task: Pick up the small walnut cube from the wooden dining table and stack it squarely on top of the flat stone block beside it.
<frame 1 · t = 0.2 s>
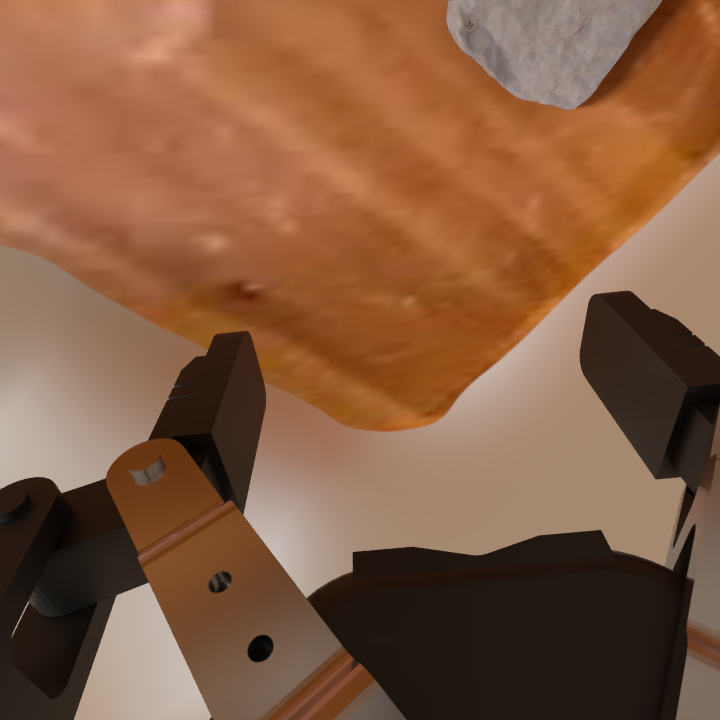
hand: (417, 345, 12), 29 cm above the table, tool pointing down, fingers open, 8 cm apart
stone block: (536, 8, 32), on the table
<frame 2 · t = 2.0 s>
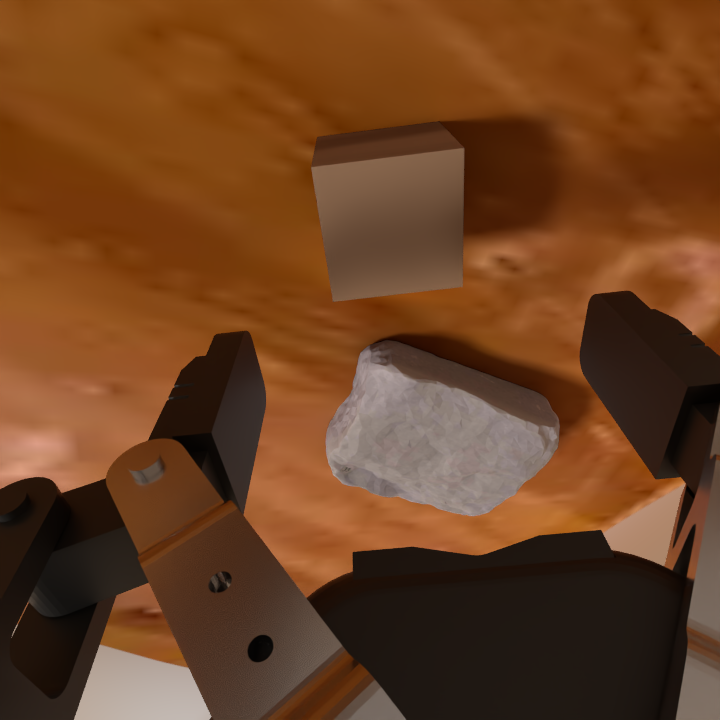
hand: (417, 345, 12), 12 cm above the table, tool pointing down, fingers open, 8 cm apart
stone block: (426, 419, 30), on the table
walnut cube: (382, 190, 21), on the table
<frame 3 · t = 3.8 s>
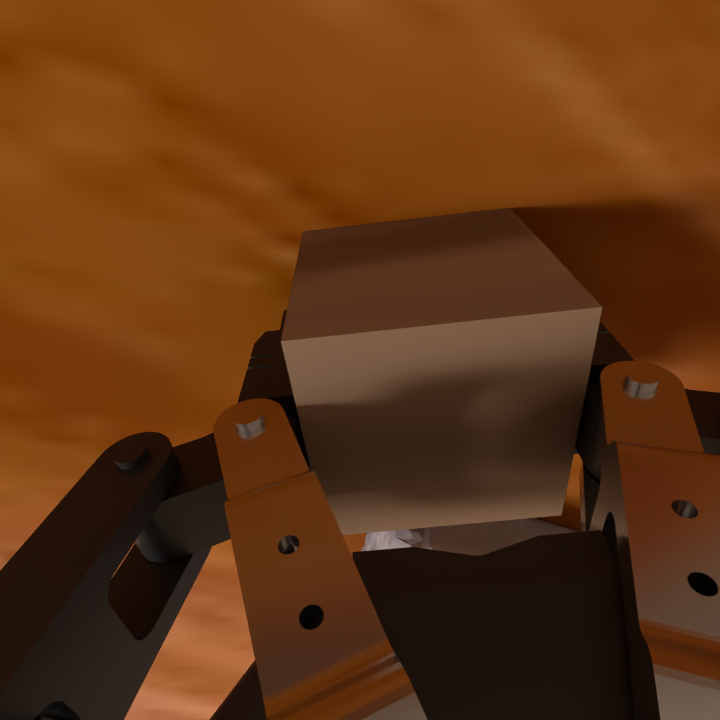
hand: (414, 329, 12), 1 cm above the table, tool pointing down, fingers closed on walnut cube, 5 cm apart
stone block: (467, 573, 21), on the table
walnut cube: (410, 310, 13), on the table, touching gripper
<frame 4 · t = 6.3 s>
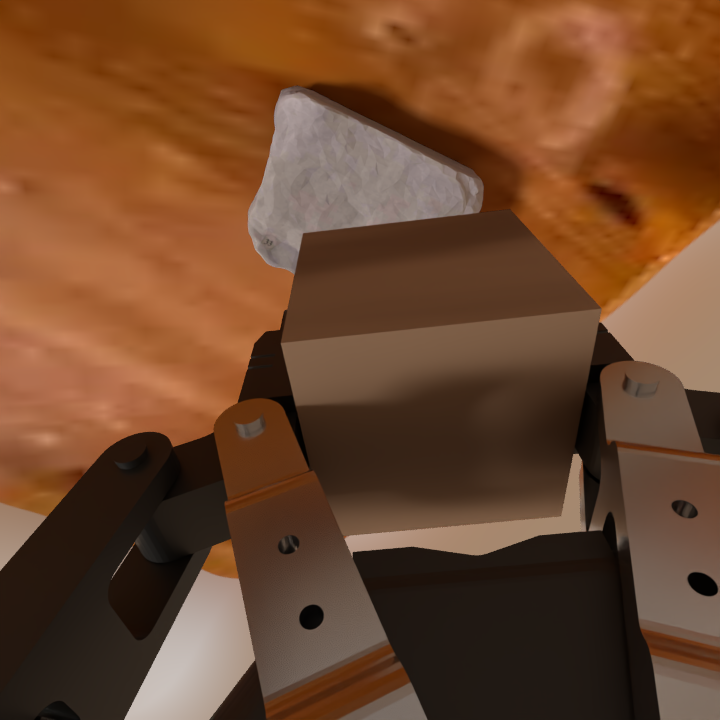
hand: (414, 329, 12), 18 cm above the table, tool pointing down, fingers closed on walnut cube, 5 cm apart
stone block: (355, 206, 29), on the table
walnut cube: (410, 312, 13), point 17 cm above the table, touching gripper
when the fingers open (6 cm above the table, at t = 8.7 s): walnut cube drops 2 cm, resting on stone block.
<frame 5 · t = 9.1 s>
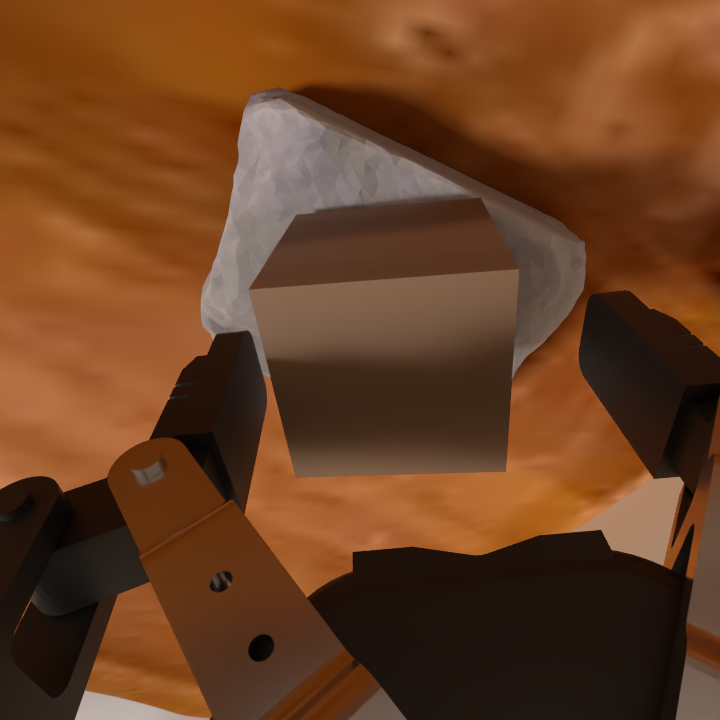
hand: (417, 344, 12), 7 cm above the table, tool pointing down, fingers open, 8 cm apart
stone block: (372, 274, 19), on the table, touching walnut cube
walnut cube: (393, 291, 14), point 4 cm above the table, tilted 6°, touching stone block
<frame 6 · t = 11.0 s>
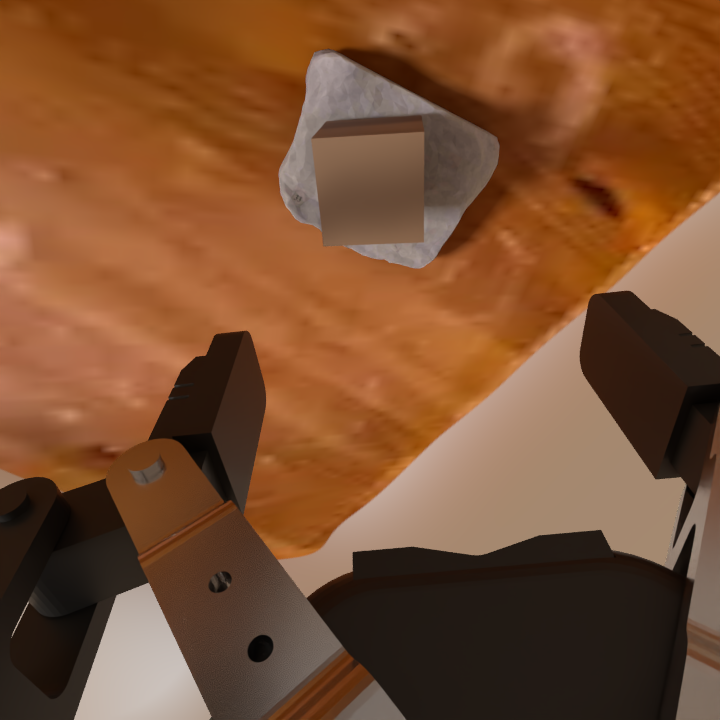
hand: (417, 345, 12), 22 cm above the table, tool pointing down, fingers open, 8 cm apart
stone block: (377, 169, 31), on the table, touching walnut cube
walnut cube: (375, 168, 27), point 4 cm above the table, tilted 6°, touching stone block
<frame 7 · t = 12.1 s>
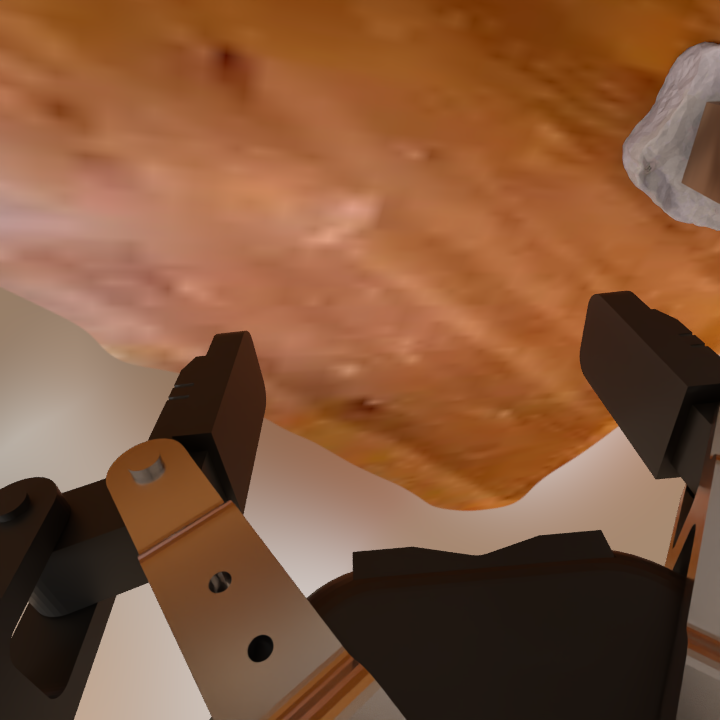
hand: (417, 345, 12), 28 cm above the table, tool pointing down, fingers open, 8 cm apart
stone block: (696, 145, 36), on the table, touching walnut cube
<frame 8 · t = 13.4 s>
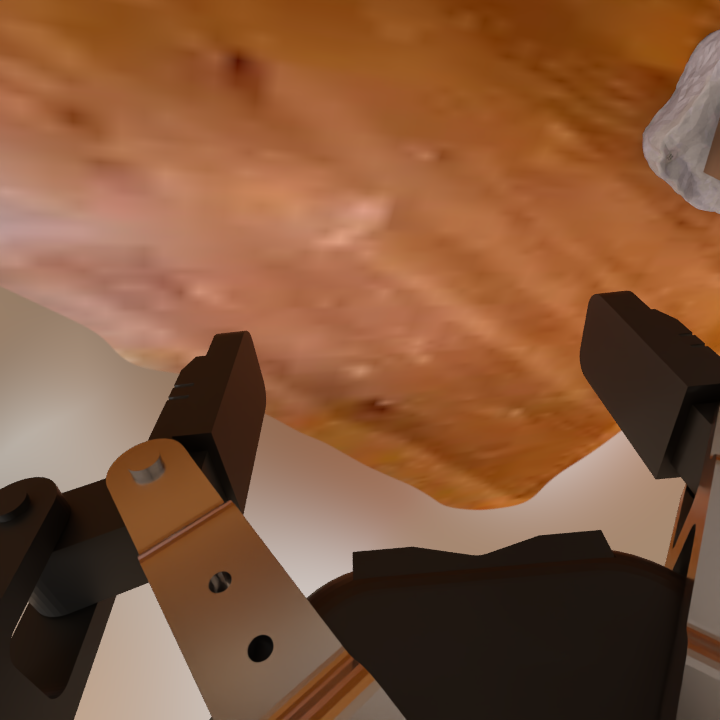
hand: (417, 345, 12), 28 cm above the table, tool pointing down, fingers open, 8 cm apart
stone block: (717, 132, 36), on the table, touching walnut cube
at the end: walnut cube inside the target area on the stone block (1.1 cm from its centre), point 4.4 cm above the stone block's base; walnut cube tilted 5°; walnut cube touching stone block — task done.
